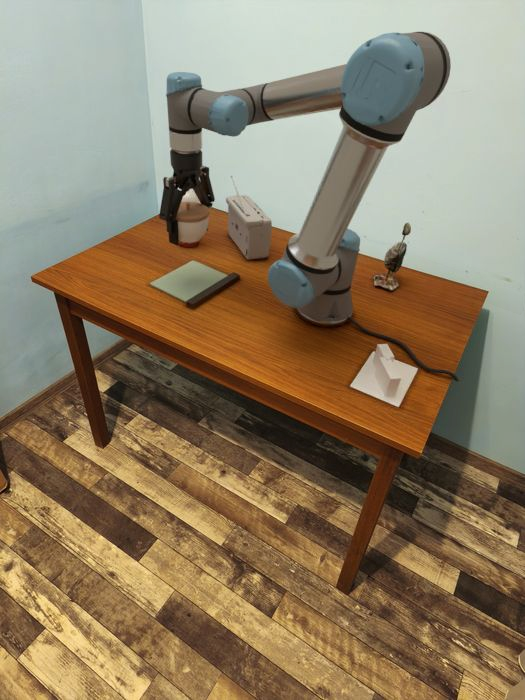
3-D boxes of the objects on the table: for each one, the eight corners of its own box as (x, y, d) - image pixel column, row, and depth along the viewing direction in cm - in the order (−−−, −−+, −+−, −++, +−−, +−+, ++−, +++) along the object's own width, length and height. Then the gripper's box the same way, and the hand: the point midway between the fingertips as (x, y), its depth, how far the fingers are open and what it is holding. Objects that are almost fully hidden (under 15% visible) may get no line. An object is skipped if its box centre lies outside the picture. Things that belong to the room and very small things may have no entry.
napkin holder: (399, 407, 97) (406, 388, 93) (349, 386, 101) (354, 367, 97) (418, 368, 107) (425, 349, 103) (372, 350, 111) (377, 331, 107)
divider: (239, 279, 133) (240, 274, 132) (193, 309, 120) (192, 304, 119) (233, 276, 134) (233, 271, 133) (186, 305, 121) (186, 300, 120)
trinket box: (217, 236, 123) (217, 202, 117) (192, 251, 116) (191, 215, 110) (186, 225, 127) (185, 191, 121) (160, 238, 120) (157, 204, 114)
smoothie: (174, 238, 150) (170, 177, 137) (199, 236, 152) (197, 175, 140) (178, 250, 144) (174, 187, 131) (204, 248, 146) (203, 185, 134)
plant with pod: (406, 279, 139) (425, 216, 126) (391, 294, 131) (409, 229, 119) (382, 270, 142) (398, 208, 130) (365, 284, 135) (381, 220, 122)
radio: (270, 259, 143) (275, 196, 130) (245, 263, 140) (248, 199, 128) (247, 231, 158) (249, 172, 145) (224, 233, 155) (225, 174, 142)
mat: (229, 277, 133) (229, 275, 133) (186, 303, 122) (186, 301, 121) (193, 261, 139) (193, 259, 139) (149, 284, 128) (149, 283, 127)
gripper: (206, 136, 117) (207, 218, 131) (137, 156, 101) (146, 246, 116) (229, 143, 113) (227, 226, 128) (161, 164, 98) (168, 256, 112)
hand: (189, 236), depth 122 cm, fingers closed on trinket box, 11 cm apart
